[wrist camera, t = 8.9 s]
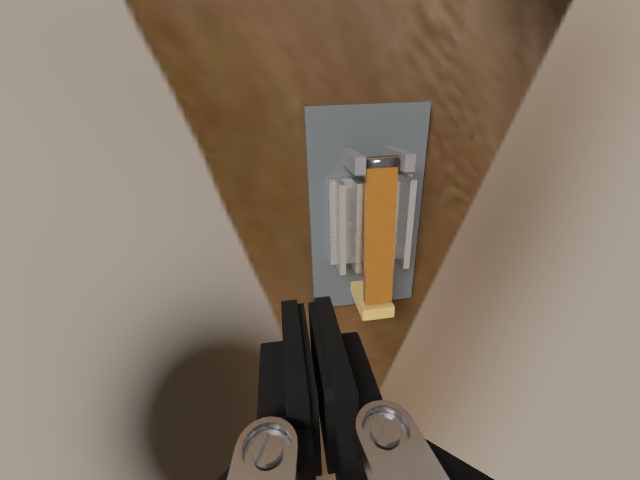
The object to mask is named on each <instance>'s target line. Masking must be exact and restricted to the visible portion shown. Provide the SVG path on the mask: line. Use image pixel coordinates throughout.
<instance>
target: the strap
mask: <svg viewBox="0 0 640 480" xmlns="http://www.w3.org/2000/svg"><path fill="white" fill-rule="evenodd" d="M398 167H399V156H398V155H388V156H371V157H366V175H365V178H364V284H363V301H364V303H365V305H369V304H377V303H386V302H392V289H393V268H394V247H395V226H396V205H397V184H398Z"/></svg>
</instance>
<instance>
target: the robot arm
mask: <svg viewBox="0 0 640 480" xmlns="http://www.w3.org/2000/svg"><path fill="white" fill-rule="evenodd" d="M308 306H309V323H310V340H311V349H310V342H309V336H308V329H307V322H306V316H305V309H304V303H300V304H297V300H289V301H281V307H282V333H283V341H279V342H270V343H263V344H261V349H260V366H259V386H258V405H257V420H256V421H254V422H253V423H251V424H250V425H249V426H248V427H246V428H245V430H244V431H243V432H242V434H241V435H240V436H239V439H238V441H237V443H236V446H235V450H234V454H233V457H232V461H231V465H230V466H229V468H228V469H227V470H226V471H225V472H224V473H223V474H222V475H221V476H220V477H219V478H218V479H217V480H316V476H321V475H322V464H321V447H320V446H321V444H320V428H319V427H320V426H319V417H320V423H321V430H322V437H323V444H324V451H325V457H326V464H327V471H328V474H333V473H335V475H336V480H494V479H492V478H490V477H488V476H487V475H485V474H484V473H482V472H480V471H479V470H477V469H475V468H474V467H472V466H470V465H468V464H467V463H465V462H463V461H462V460H460V459H458V458H457V457H455V456H453V455H451V454H450V453H448V452H447V451H445V450H443V449H441V448H440V447H438V446H436V445H435V444H433V443H431V442H430V441H428V440H426V439H425V438H424V436H423V435H422V433H421V432H420V430H419V428H418V427H417V425H416V423H415V422H414V420H413V418H412V417H411V416H410V415H409V413H408V412H407V411H406V410H405V409H403V408H402V407H401V406H399V405H398V404H395V403H393V402H390V401H383V400H382V397H381V394H380V391H379V389H378V386H377V383H376V380H375V378H374V375H373V372H372V370H371V367H370V364H369V361H368V359H367V356H366V353H365V351H364V348H363V345H362V342H361V340H360V337H359V335H358V333H357V332H351V333H343V334H341V332H340V329H339V325H338V322H337V319H336V315H335V312H334V308H333V305H332V302H331V298H330V296H325V297H316V298H314V302H309V303H308Z"/></svg>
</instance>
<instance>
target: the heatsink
mask: <svg viewBox="0 0 640 480" xmlns="http://www.w3.org/2000/svg"><path fill="white" fill-rule="evenodd" d="M412 175H413V174H411V173H409V172H405V173H404V172H398V184H397V205H396V226H395V247H394V259H396V261H397V262H398V263H399V264H400V266H401V267H402V268H403V269H408V268H409V264H410V254H411V243H412V233H413V223H414V212H415V202H416V191H417V181H418V180H417V179H415V178H413V177H412ZM364 178H365V175H359V176H355V175H345V176H329V177H327V206H328V246H329V261H330V264H331V265H336V267H337V270H338V272H339V275H346V264H347V263H351V265H352V267H353V269H354V271H355V273H356V274H359V273H362V262H364ZM393 270H394V268H393Z"/></svg>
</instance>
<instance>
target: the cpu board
mask: <svg viewBox="0 0 640 480" xmlns="http://www.w3.org/2000/svg"><path fill="white" fill-rule="evenodd" d="M430 110H431V102H403V103H377V104H351V105H325V106H304V121H305V140H306V160H307V179H308V199H309V219H310V238H311V258H312V277H313V297H314V298H316V297H325V296H330V298H331V302H332V305H333V306H342V305H351V304H356V306H357V308H358V311H359V313H360V315H361V318H362V320H363V321H367V320H375V319H383V318H392V317H394V312H395V306H394V305H393V303H392V302H386V303H377V304H369V305H365V303H364V301H363V284H364V262H362V273H359V274H356V273H355V271H354V269H353V267H352V265H351V263H347V264H346V275H339V272H338V270H337V267H336V265H331V264H330V261H329V246H328V206H327V177H329V176H345V175H355V176H359V175H366V157H371V156H388V155H398V156H399V167H398V172H404V173H405V172H409V173H411V174H413V175H412V177H413V178H415V179H417V180H418V181H417V191H416V202H415V212H414V223H413V233H412V243H411V254H410V264H409V268H408V269H403V268H402V267H401V266H400V264H399V263H398V262H397V261H396V259H394V270H393V289H392V300H395V299H404V298H411V293H412V283H413V273H414V264H415V254H416V245H417V235H418V225H419V216H420V206H421V197H422V187H423V177H424V168H425V158H426V149H427V139H428V129H429V120H430Z"/></svg>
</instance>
